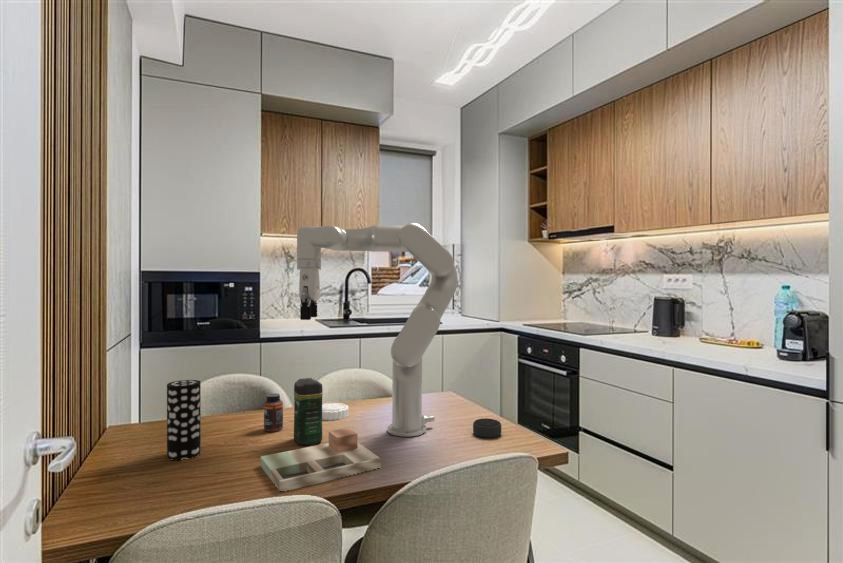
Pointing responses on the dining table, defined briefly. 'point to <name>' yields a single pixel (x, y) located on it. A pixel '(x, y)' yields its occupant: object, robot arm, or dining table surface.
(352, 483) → the dining table surface
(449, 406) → the dining table surface
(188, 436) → the white-spotted black cylinder
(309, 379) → the coffee jar
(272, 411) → the supplement bottle
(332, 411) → the mooncake
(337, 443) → the block
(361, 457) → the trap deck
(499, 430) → the smart speaker
